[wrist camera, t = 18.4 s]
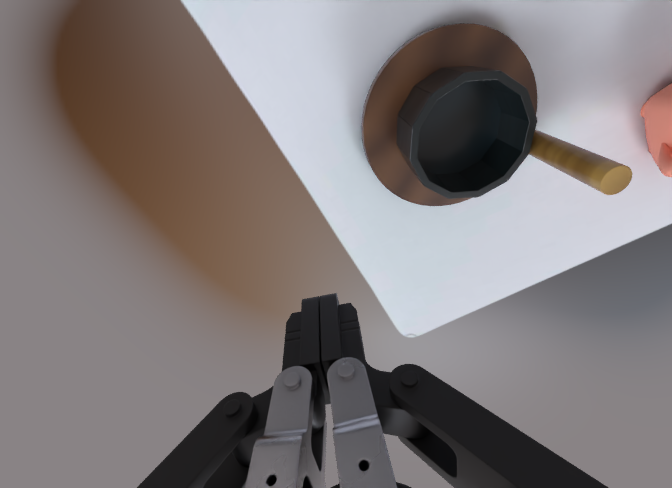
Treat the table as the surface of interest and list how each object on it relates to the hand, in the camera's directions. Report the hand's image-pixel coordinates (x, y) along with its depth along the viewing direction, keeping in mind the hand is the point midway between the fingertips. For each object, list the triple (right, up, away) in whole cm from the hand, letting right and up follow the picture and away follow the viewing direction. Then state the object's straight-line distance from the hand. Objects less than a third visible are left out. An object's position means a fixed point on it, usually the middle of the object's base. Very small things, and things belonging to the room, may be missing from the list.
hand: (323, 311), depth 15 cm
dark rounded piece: (+12, +16, +23) cm, 30 cm away
